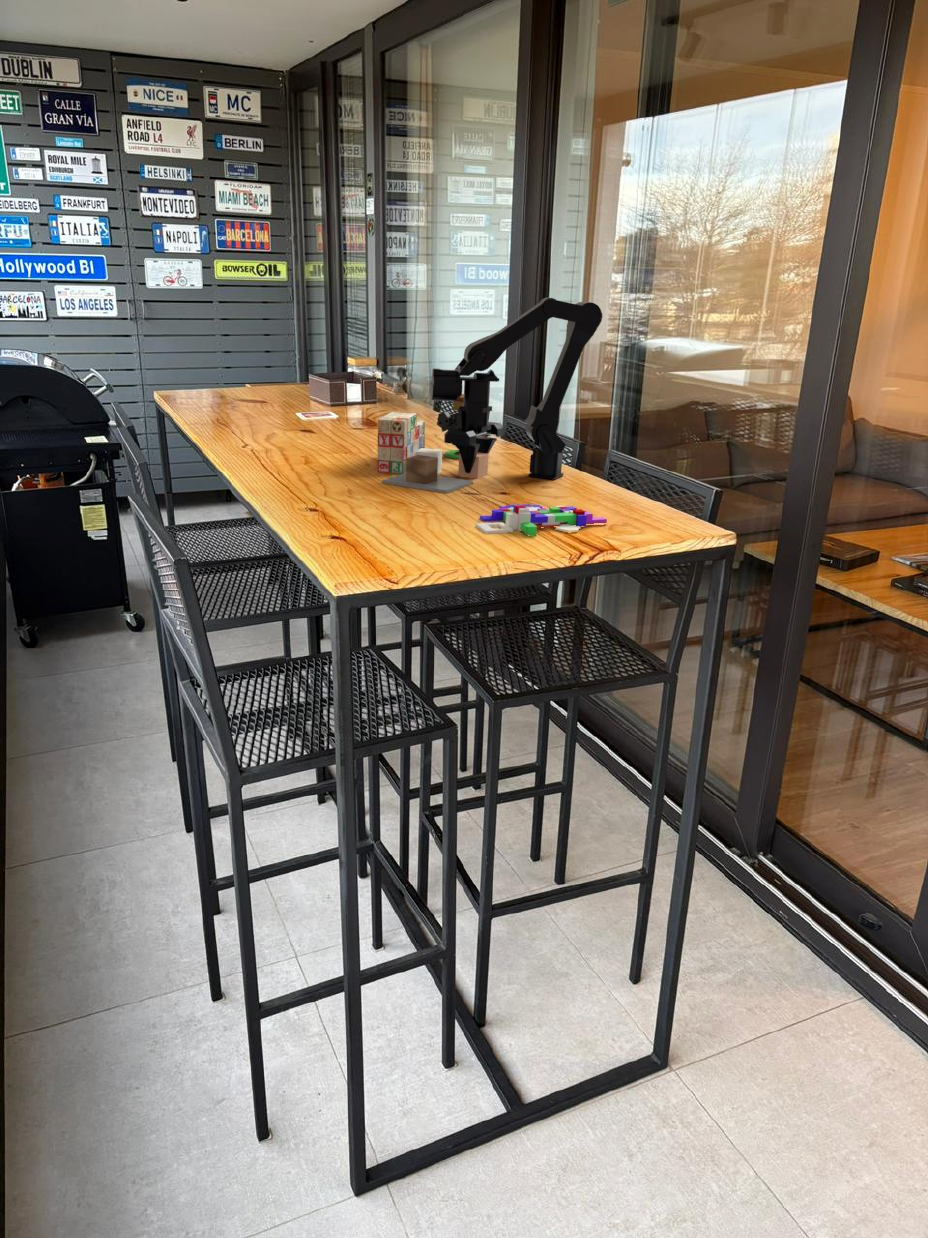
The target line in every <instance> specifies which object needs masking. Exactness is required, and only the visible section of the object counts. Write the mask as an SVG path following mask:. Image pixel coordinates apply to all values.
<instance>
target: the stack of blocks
mask: <svg viewBox="0 0 928 1238" xmlns="http://www.w3.org/2000/svg"><path fill="white" fill-rule="evenodd" d="M425 422H426V421H425V420H418V418H417V413H414V412H401V411H400V412H398V411H391V412H389V413H387V414H385V415H383V416H382V417H380V418H378V419H377V461H376V462H377V470H376V471H377V473H381V474H382V473H383V474H394V475H401V474H404V473H406V458H409V457H412V456H416V451H418V450H419V449H421V448H425V449H426V446H425V445H426V434H425V431H426V427H425V426H426V423H425Z"/></svg>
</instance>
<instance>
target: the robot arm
mask: <svg viewBox="0 0 928 1238" xmlns="http://www.w3.org/2000/svg"><path fill="white" fill-rule="evenodd" d="M552 318H555V319H559V320H564V321H567V323H566V330H565V331H566V332H565V340H564V344H563V345H562V348H561V349H562V350H561V351H560V354H559V357H558V358H557V359H558V360H557V362H556V365H555V367H554V370H553V371H552V372H553V373H552V375H551V377H550V380H549V382H548V384H547V387H546V390H545V391H544V395H543V398H542V400H541V401H540V403H539V404H538V406H537V407H535V406H534V405H530V408H529V412H528V416H527V417H526V419H524V424H526V425H525V432H526V435H527V436H528V438H529V439H531V440H532V443H533V446H534V448H532V453H531V454H530V459H529V473H528V475H527V476H528V477H534V478H540V479H545V480H557V479H558V478H562V477H563V476H564V475H565V473H564V472H562V465H563V456H564V455H563V454H564V450H565V447H566V443H565V442H564V441H563V439H562V438H561V437H560V436H559V435H558V434H557V433H558V427H559V424H560V411H561V406H562V404H563V400H564V399H565V396H566V393H567V391H568V388H569V385H570V383H571V381H572V378H573V376H574V373H575V370H576V369H577V365H578V363H579V360H580V358H581V355H582V352H583V350H584V348H585V346H586V345H587V344H588V343H589V341H590V340H591V339H592V337H593V336H594V334H595V333H596V331H597V330H598V328H599V326H600V325H601V323H602V320H603V312H602V310H601V308H600V306H599V305H598V304H596V303H594V302H589V301H579V302H577V303H572V302H567V301H562V300H559V299H558V300H557V299H556V298H553V297H543V298H542V299H541V300H540V301H539V302H538V303H537V304H535V305H534V306H533V307H531V308H530V309H528V310H527V311H525V312H524V313H522V314H521V315H519V317H517V318H515V319H514V320H513V321H511V322H510V323H508V324H507V325H505V326H504V327H502V328H501V329H500V330H498V331H496V332H495V333H491V334H490V335H487V336H485V337H482V338H480V339H477V340H475V341H473V342H471V343H469V344H468V345H467V346H466V347H465V348H464V351H463V352H464V353H463V358H462V360H461V361H460V362H459V363H458V364H457V366H456V367H455V369H442V368H441V369H440V368H436V367H435V368H432V374H431V378H430V382H429V397H430V400H431V401H442V402H443V401H445V402H446V401H448V402H451V401H452V402H453V401H456V400H457V397H460V396H461V395H462V394H464V402H463V405H462V406H460V407H459V411H457V412H456V413H452V414H450V413H449V412H448V411H443V412H439V413H438V415H437V418H436V419H437V422H436V425H437V426H438V427H439V428H440V429H441V433H442V432H443V433H444V432H445V433H444V435H443V436H444V438H443V439H444V440H443V442H444V443H445V444H450V445H452V446H454V447H456V449H457V450H459V451H460V454H461V458H462V461H463V465H464V469H465V472H466V473H470V472H471V470H472V467H473V464H474V461H475V458H476V455H477V452H479V453H486V454H489V453H490V452H491V450H492V449H493V446H494V445H495V442H497V440H498V438H499V437H503V436H504V426H503V424H502V423H500V422H492V421H489V412H493V406H492V405H490V391H491V382H495V383H497V382H500V378H499V377H498V376H497V375H496V374H495V372H494V370H492V369H489V368H491V366H492V365H493V364H494V363H495V362H497V360H499V359H500V357H502V355H503V354H504V352H506V350H507V349H508V348H509V347H511V346H512V345H513V344H515V343H517V342H518V341H519V340H521V339H522V338H524V337H525V336H527V335H528V334H530V333H531V332H532V331H534V330H535V329H537V328H538V327H539V326H541V325H542V324H544V323H545V322H547V321H548V320H550V319H552ZM488 369H489V370H488ZM486 370H488V371H487V372H483V371H486ZM472 374H473V376H471V375H472ZM463 381H464V382H463ZM463 383H464V384H463ZM463 386H464V387H463ZM456 427H457V428H456ZM492 435H495V438H494V437H492ZM497 437H498V438H497ZM489 455H490V454H489Z"/></svg>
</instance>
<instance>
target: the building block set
mask: <svg viewBox="0 0 928 1238" xmlns="http://www.w3.org/2000/svg"><path fill="white" fill-rule="evenodd" d="M479 519H480V520H481V521H482V523H475V527H476V528H477V529H479V530H480V531H481V532H482V533H484V534H486V535H489V534H488V533H492V534H505V533H506V534H507V532H511V533H513V532H514V531H515V530H518V531H519V532H520V531H524V532H523V533H525V534H526V535H536V536H537V533H538V531H537V530H538V529H542V528H541V527H554V526H559V527H557V528H555V531H556V530H561V531H578V530H579V529H580V530H581V528H582V527H581V526H586V524H594V523H608V519H607V518H605V517H604V516H596V517H595V516H594V514H593V513H592V512H590V511H588V510H583V509H582V508H581V509H578V508H577V507H575V506H571V505H570V506H565V505H555V506H551V507H549V508H546V507H545V508H544V507H543V506H541V505H539V504H509V505H508V504H507V505H504V506H499V508H498V509H491V515H479ZM500 521H503V522H500ZM483 522H484V523H483ZM485 522H486V523H485ZM504 522H505V523H504ZM572 525H576V526H572ZM586 527H587V526H586ZM537 528H538V529H537ZM580 530H579V531H580ZM525 534H524V535H525ZM526 535H525V536H526Z"/></svg>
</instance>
